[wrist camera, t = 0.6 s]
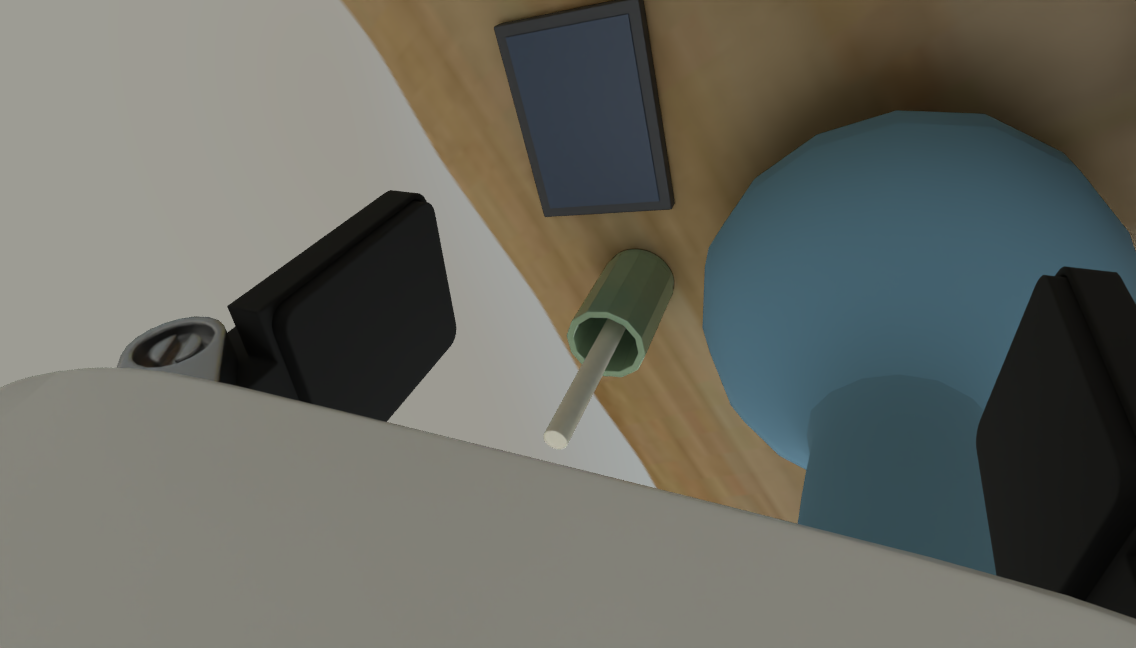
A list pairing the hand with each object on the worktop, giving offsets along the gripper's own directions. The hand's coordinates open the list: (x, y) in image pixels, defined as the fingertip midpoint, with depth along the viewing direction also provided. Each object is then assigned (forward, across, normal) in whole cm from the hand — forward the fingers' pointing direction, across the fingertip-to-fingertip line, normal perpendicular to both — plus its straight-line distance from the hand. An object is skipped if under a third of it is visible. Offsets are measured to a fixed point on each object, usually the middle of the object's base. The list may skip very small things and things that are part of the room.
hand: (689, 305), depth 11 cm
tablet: (+25, +11, +6) cm, 28 cm away
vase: (+25, -6, +11) cm, 28 cm away
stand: (+26, +8, +16) cm, 31 cm away
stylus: (+25, +8, +16) cm, 31 cm away
